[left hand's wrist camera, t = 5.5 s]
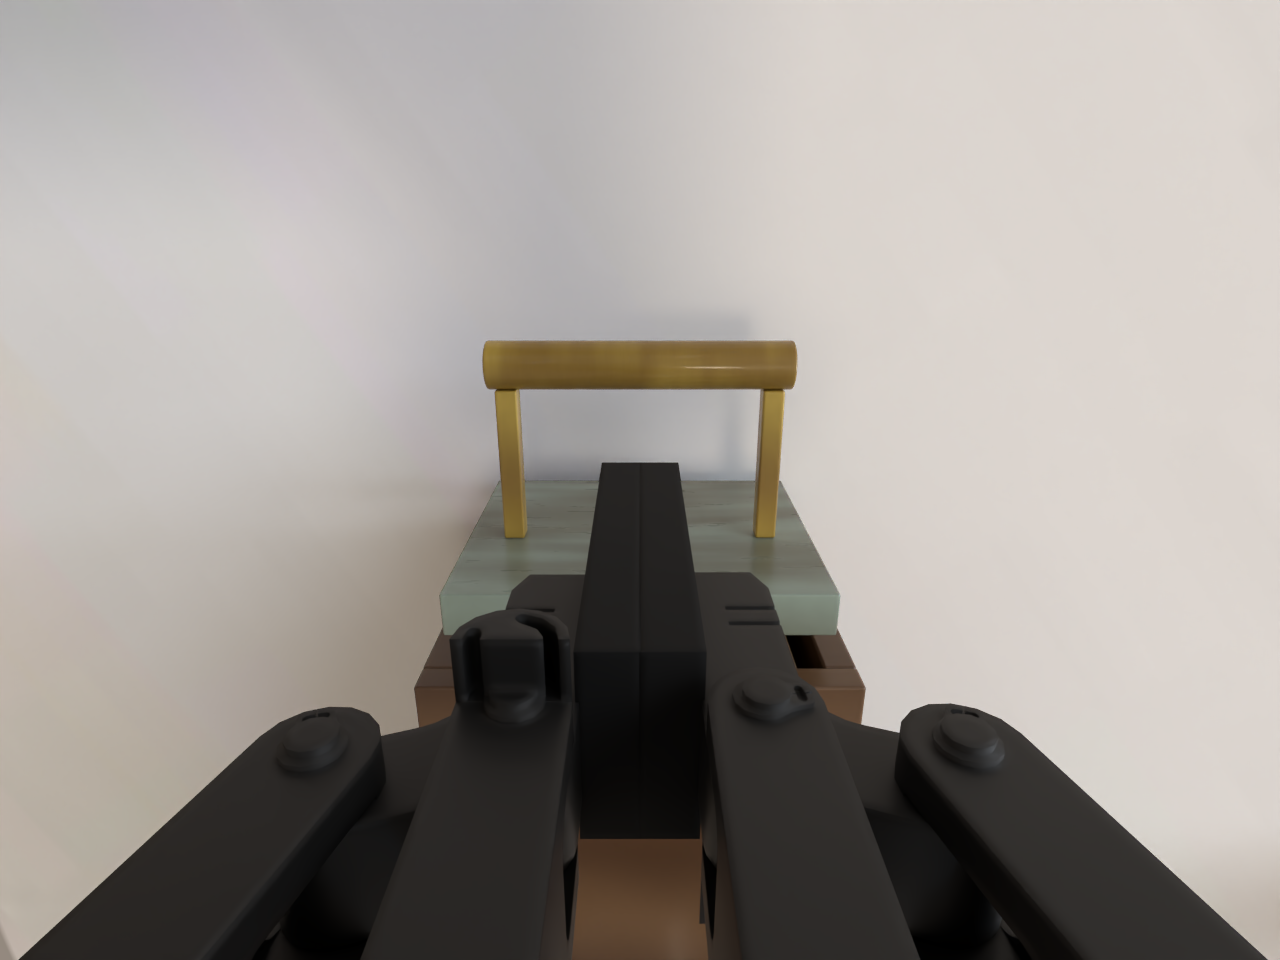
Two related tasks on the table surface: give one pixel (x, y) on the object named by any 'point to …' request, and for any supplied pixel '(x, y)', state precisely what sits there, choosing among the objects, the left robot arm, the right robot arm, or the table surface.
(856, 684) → the cabinet
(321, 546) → the table surface
